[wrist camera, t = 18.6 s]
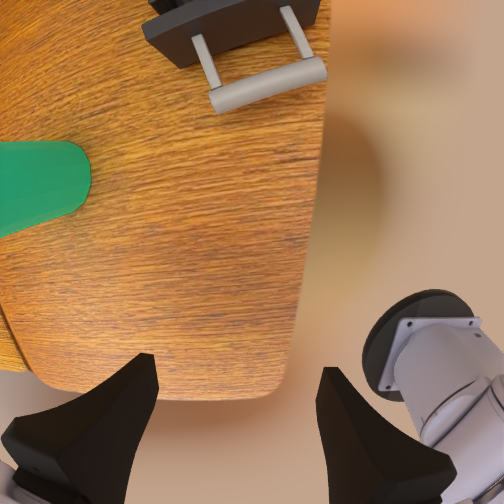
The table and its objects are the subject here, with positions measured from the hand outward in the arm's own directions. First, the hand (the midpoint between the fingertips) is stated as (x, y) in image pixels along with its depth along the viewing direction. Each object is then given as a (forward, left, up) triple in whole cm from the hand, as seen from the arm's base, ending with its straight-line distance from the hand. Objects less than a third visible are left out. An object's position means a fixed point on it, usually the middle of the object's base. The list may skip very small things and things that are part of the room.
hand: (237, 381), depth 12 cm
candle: (+16, -8, -11) cm, 21 cm away
